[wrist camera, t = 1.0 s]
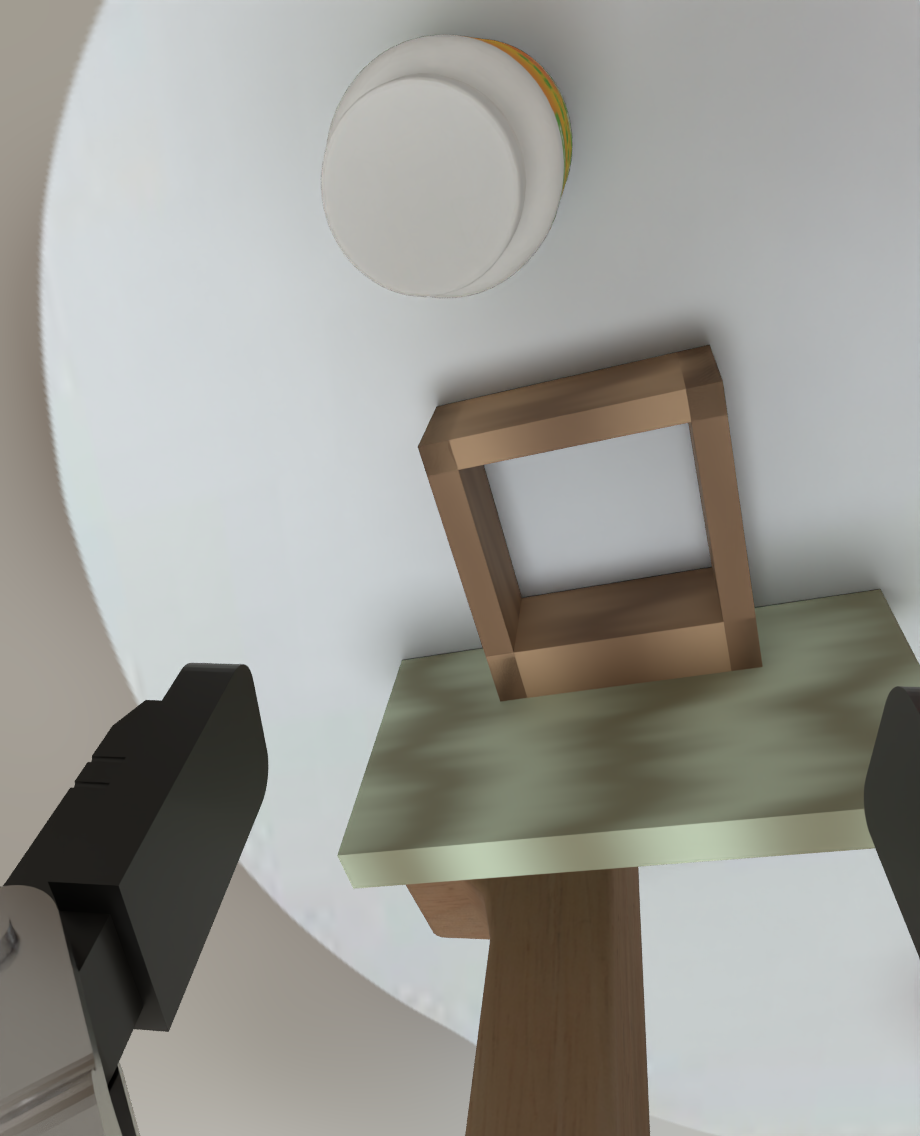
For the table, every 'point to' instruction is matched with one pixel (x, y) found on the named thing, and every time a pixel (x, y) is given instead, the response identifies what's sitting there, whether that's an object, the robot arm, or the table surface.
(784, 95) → the table surface
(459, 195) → the supplement bottle
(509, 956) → the wooden block
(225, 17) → the table surface
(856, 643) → the board
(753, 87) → the table surface
